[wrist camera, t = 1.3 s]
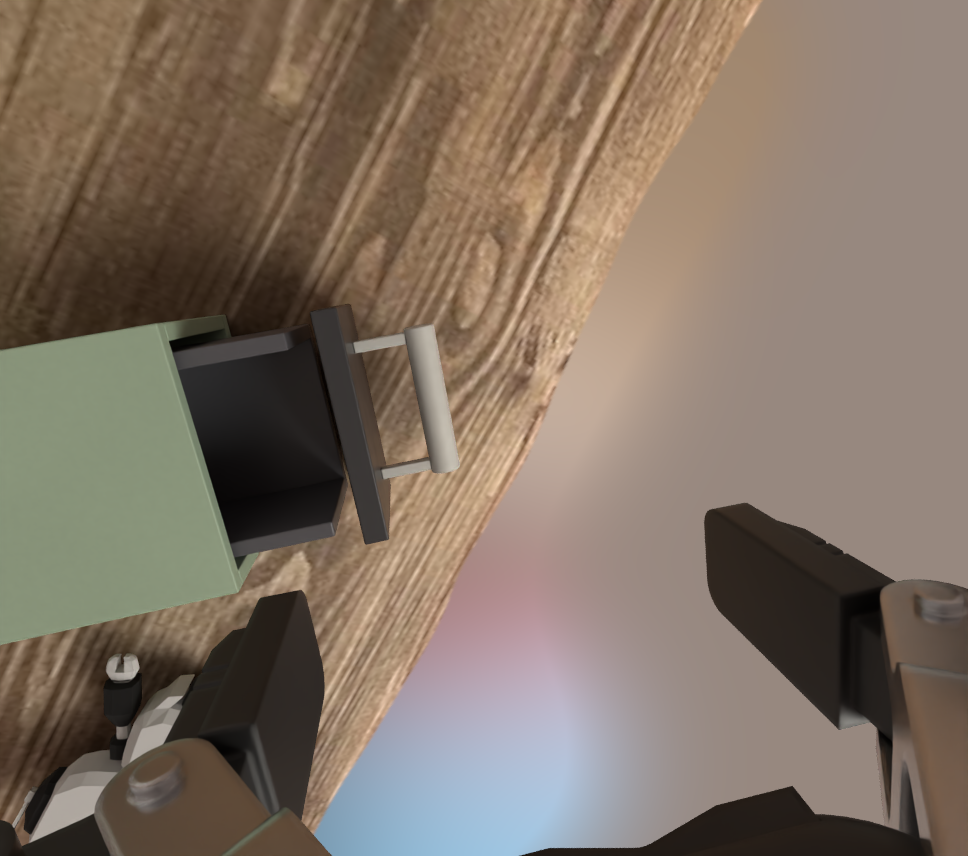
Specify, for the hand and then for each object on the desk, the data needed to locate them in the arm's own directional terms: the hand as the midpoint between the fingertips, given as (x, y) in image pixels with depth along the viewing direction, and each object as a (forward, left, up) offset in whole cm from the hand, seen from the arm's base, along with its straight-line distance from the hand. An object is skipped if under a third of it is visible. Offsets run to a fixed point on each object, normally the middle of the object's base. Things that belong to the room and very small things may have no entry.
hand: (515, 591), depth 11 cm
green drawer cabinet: (+17, -6, -26) cm, 32 cm away
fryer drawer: (+8, -3, -25) cm, 27 cm away
